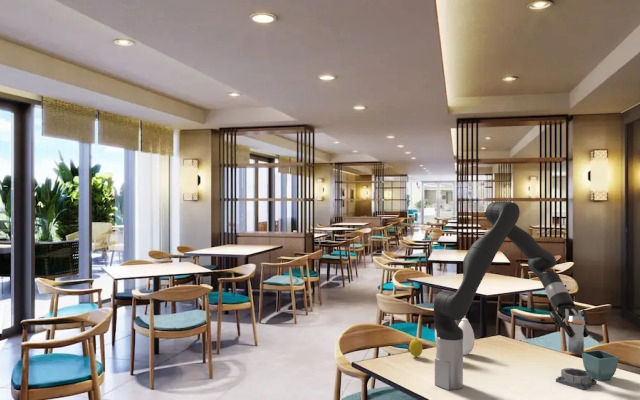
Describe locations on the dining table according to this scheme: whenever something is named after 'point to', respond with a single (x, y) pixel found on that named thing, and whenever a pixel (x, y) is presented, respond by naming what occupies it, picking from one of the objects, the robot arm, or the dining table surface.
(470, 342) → the sauce bottle
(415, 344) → the lemon
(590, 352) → the flower pot
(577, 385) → the duct flange
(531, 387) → the dining table surface
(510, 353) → the dining table surface
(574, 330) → the grey travel mug
